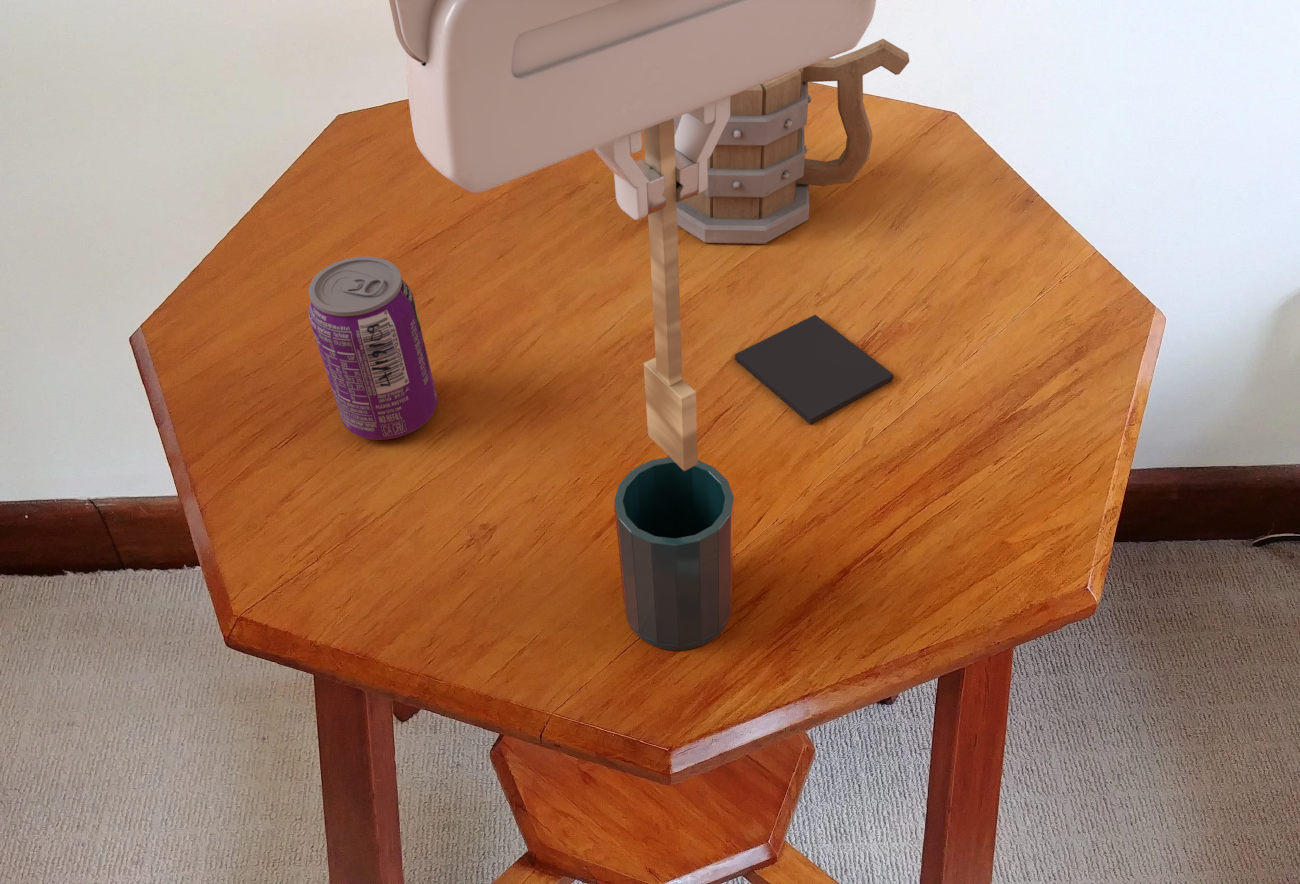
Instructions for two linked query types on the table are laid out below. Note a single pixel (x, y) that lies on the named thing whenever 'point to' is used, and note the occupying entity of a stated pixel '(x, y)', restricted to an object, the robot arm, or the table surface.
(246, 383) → the table surface
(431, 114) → the robot arm
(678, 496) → the cup
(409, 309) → the beverage can
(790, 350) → the mat
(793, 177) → the tankard
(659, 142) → the wooden stir stick
